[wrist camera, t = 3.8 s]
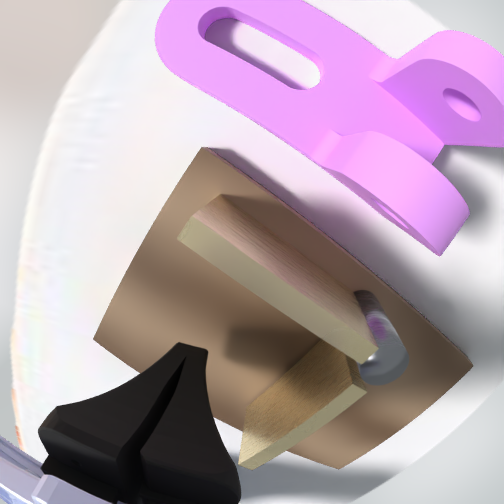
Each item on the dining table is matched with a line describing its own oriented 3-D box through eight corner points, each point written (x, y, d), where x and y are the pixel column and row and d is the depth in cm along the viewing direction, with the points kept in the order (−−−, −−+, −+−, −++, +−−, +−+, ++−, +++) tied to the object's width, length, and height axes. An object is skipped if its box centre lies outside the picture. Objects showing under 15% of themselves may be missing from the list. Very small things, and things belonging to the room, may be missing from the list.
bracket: (443, 123, 11) (548, 117, 5) (381, 214, 13) (461, 274, 6) (212, -26, 10) (168, -113, 3) (144, 60, 11) (50, 12, 5)
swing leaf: (246, 407, 15) (238, 464, 12) (336, 324, 13) (352, 384, 9) (258, 413, 15) (252, 470, 12) (348, 332, 13) (367, 391, 9)
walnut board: (337, 459, 18) (339, 469, 17) (100, 330, 16) (93, 339, 15) (467, 356, 15) (473, 365, 14) (207, 147, 12) (201, 147, 11)
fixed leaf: (359, 331, 13) (381, 392, 9) (202, 219, 12) (168, 252, 8) (385, 303, 13) (418, 359, 9) (227, 183, 12) (201, 200, 8)
